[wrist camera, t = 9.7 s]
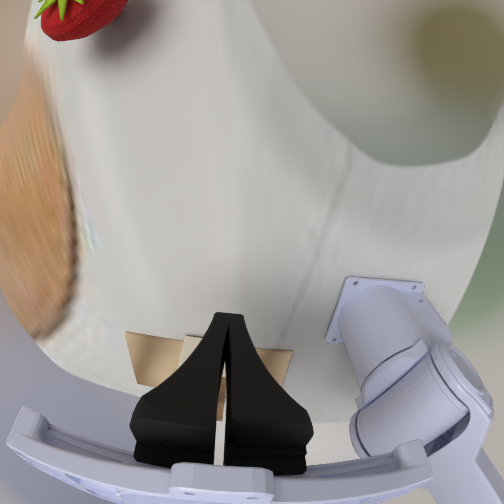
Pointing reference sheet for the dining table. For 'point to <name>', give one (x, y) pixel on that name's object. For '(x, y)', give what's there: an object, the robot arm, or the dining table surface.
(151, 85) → the dining table surface
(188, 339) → the walnut block
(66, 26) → the strawberry
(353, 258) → the dining table surface
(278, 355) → the light wood flat board
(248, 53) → the dining table surface
